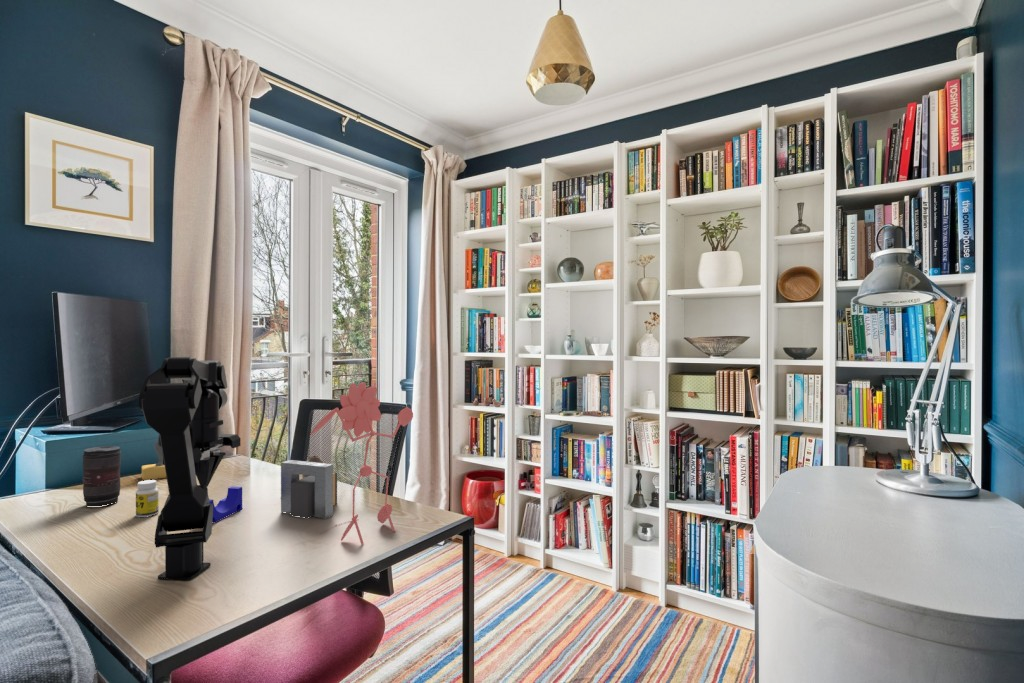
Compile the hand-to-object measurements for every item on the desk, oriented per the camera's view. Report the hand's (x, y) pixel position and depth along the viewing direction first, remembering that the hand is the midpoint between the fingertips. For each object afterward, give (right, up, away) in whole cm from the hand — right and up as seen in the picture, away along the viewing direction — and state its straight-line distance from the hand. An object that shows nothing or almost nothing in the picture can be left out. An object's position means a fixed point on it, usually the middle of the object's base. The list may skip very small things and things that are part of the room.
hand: (204, 487), depth 116 cm
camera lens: (-42, -12, +24) cm, 50 cm away
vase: (+8, -12, +43) cm, 45 cm away
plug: (+17, -12, +21) cm, 29 cm away
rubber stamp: (-44, -11, +52) cm, 69 cm away
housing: (+16, -12, +18) cm, 26 cm away
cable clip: (-6, -12, +16) cm, 21 cm away
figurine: (+33, -12, +6) cm, 35 cm away
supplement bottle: (-24, -12, +17) cm, 32 cm away
